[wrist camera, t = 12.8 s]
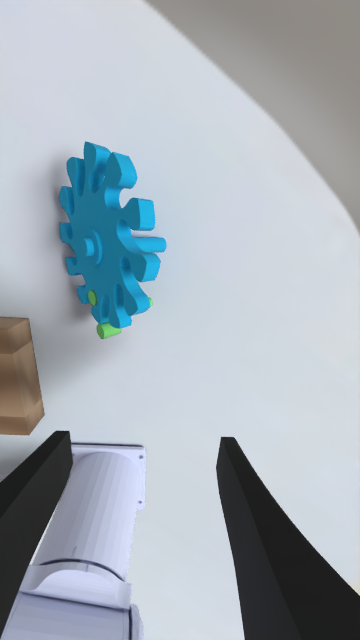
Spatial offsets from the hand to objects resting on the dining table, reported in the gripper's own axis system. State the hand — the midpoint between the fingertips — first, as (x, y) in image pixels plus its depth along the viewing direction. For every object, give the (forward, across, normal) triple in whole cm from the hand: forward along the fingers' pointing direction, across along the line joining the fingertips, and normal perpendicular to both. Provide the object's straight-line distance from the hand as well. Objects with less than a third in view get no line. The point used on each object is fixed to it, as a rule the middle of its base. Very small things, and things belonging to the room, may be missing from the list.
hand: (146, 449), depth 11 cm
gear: (+10, +4, -8) cm, 14 cm away
